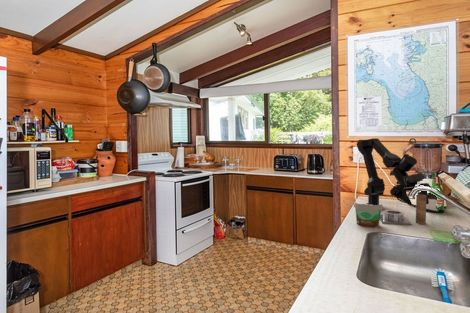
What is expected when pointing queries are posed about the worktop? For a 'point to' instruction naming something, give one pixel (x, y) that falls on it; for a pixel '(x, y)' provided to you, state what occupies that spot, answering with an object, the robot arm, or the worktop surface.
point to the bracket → (394, 217)
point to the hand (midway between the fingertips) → (419, 204)
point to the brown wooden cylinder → (421, 209)
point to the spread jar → (431, 202)
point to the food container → (368, 214)
